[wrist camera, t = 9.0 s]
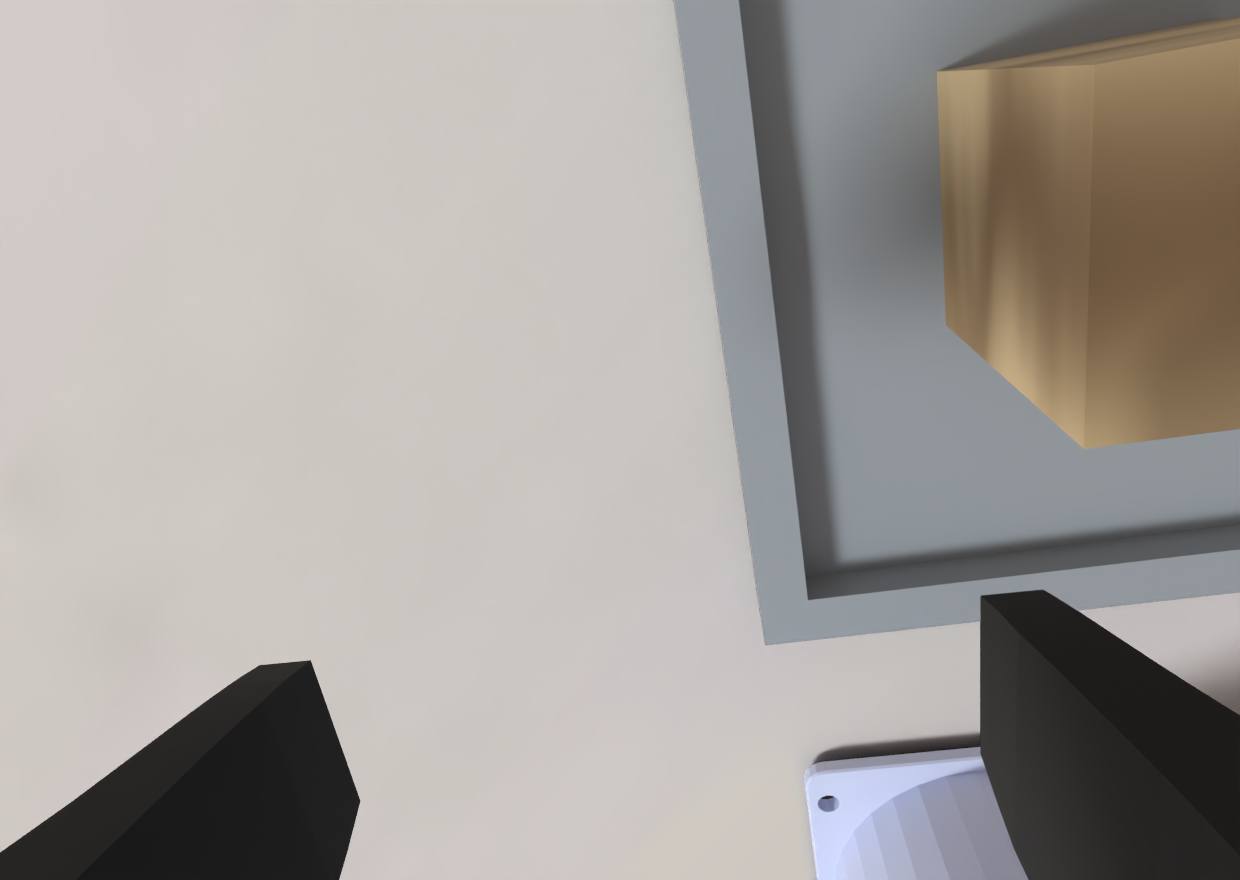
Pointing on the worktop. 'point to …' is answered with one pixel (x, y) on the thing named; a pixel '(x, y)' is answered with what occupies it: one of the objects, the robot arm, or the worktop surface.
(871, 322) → the slate tray
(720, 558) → the worktop surface
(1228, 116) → the oak block
